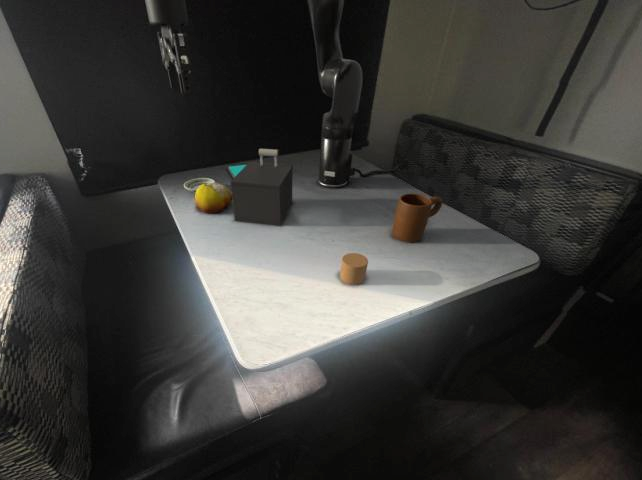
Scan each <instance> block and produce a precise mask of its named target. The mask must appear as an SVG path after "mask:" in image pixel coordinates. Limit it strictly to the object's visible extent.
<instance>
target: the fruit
mask: <svg viewBox="0 0 642 480" xmlns="http://www.w3.org/2000/svg"><path fill="white" fill-rule="evenodd" d="M194 202H195V203H194V204H195V205H196V207H197V209H198V210H199V212H201V213H204V214H217V213H221V212H222V211H224V210H225V211H226V210H227V209H228V208H229V207H230V205H231V204H232V203H233V199H232V190H231V189H230V188H228V187H227V186H226V185H224V184H221V183H219V182H215V183H209V184H202V185H200V186H199V187H198V189H197V190H196V193H194Z"/></svg>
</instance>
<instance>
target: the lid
mask: <svg viewBox="0 0 642 480" xmlns="http://www.w3.org/2000/svg"><path fill="white" fill-rule="evenodd" d="M258 156H259V162H258V161H248V163H247V164H245V165H246V166H245V167H244V168H243V169H242V170H241V171H240V172H239V173H238V174H237V175H236V176H235V177H234V178H233V177H232V179H231V180H230V186H231V185H241V186H252V187H263V188H274V189H280V188H281V186H282V185H283V183H284V182H285V180H286V178H287V177H288V175H289V174H290V172H291V170H292V169H294V164H286V163H285V164H284V163H278V159H279V158H278V157H279V149H273V148H272V149H271V148H259V149H258ZM264 157H269V158H273V159H274V163H272V162H264ZM292 171H293V170H292Z"/></svg>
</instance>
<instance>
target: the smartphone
mask: <svg viewBox="0 0 642 480" xmlns="http://www.w3.org/2000/svg"><path fill="white" fill-rule="evenodd" d="M246 165H247V164H238V165H237V164H236V165H230V166H227V170H228V171H229V174H230V175H231V176H232V179H233V178H234V177H235V176H236V175H237V174H238V173H239V172H240V171H241V170H242V169H243V168H244V167H245V166H246Z"/></svg>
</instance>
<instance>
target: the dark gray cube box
mask: <svg viewBox="0 0 642 480" xmlns="http://www.w3.org/2000/svg"><path fill="white" fill-rule="evenodd" d="M293 169H294V168H293ZM293 169H292V170H291V172H290V174H289V175H288V177H287V178H286V180H285V182H284V183H283V185H282V186H281V188H280V189H274V188H263V187H252V186H241V185H231V184H230V191H231V194H232V207H233V216H234V221H235V222H242V223H243V222H244V223H252V224H261V225H271V226H279V227H281V226H282V224H283V221H284V220H285V218H286V215H287V214H288V212H289V210H290V208H291V206H292V205H293Z"/></svg>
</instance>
